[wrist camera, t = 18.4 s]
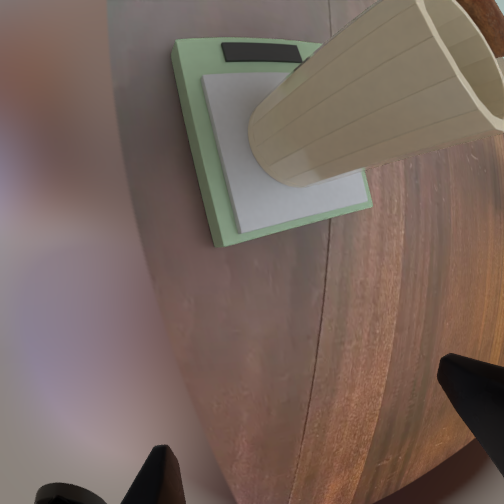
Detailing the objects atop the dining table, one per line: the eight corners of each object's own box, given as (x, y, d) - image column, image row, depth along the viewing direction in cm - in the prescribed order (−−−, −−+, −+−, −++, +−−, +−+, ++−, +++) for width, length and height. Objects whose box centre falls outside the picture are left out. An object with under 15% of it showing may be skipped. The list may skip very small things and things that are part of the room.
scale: (356, 209, 24) (379, 205, 22) (214, 247, 20) (227, 247, 17) (309, 54, 23) (326, 40, 20) (170, 54, 18) (177, 33, 16)
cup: (343, 183, 20) (523, 139, 8) (258, 193, 18) (465, 119, 6) (322, 97, 20) (472, 11, 8) (238, 94, 18) (383, -50, 6)
